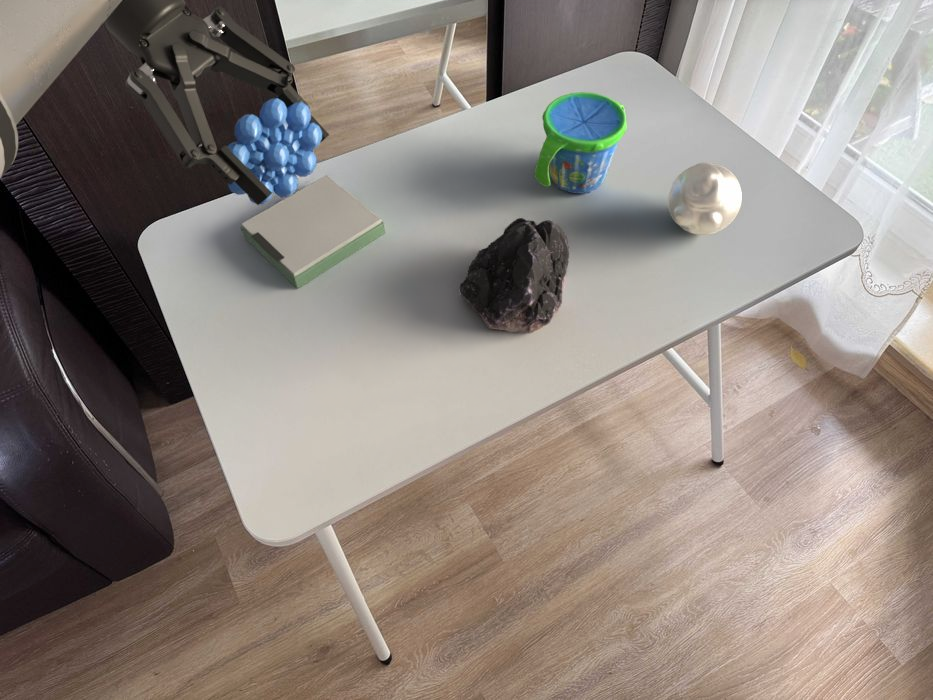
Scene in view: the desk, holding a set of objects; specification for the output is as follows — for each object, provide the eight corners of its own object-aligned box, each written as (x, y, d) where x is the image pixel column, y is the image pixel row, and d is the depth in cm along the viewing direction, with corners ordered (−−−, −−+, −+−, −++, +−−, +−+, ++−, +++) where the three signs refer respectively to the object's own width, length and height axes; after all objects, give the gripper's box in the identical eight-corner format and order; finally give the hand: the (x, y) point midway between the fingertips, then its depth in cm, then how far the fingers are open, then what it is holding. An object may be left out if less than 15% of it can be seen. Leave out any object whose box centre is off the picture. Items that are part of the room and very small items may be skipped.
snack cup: (560, 223, 94) (566, 162, 86) (509, 182, 99) (511, 120, 91) (644, 174, 99) (658, 111, 91) (592, 136, 104) (601, 74, 96)
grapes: (316, 159, 87) (295, 67, 78) (340, 189, 83) (321, 97, 74) (224, 193, 83) (191, 101, 74) (245, 226, 80) (213, 134, 70)
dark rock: (470, 348, 83) (477, 299, 75) (448, 259, 90) (452, 204, 82) (578, 334, 86) (597, 284, 77) (550, 247, 92) (564, 192, 84)
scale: (297, 289, 89) (292, 275, 87) (243, 236, 94) (237, 222, 92) (385, 233, 94) (383, 218, 92) (329, 186, 100) (326, 172, 98)
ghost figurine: (644, 217, 94) (658, 156, 86) (701, 193, 97) (721, 132, 89) (686, 261, 90) (706, 201, 82) (746, 235, 92) (771, 174, 84)
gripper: (193, -33, 79) (335, 124, 87) (36, 75, 68) (217, 244, 76) (215, -75, 73) (366, 98, 82) (48, 36, 62) (243, 224, 70)
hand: (294, 169), depth 79 cm, fingers closed on grapes, 10 cm apart
